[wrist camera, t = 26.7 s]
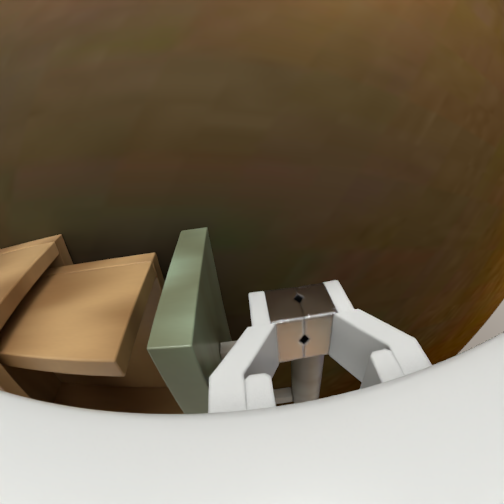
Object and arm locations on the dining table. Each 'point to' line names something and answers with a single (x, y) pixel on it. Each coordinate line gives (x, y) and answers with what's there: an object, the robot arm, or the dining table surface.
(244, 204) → the dining table surface
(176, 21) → the dining table surface
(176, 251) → the drawer
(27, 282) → the cabinet
